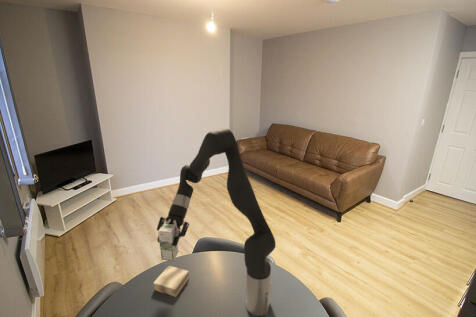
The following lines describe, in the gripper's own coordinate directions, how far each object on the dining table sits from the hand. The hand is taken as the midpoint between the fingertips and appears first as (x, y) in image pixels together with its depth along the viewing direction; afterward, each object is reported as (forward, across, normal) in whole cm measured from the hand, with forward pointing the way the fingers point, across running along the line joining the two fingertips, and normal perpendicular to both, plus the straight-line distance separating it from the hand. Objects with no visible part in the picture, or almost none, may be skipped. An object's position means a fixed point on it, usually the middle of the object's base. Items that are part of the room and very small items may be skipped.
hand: (166, 243), depth 97 cm
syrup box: (+4, 0, +7) cm, 8 cm away
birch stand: (+15, 0, +17) cm, 22 cm away
